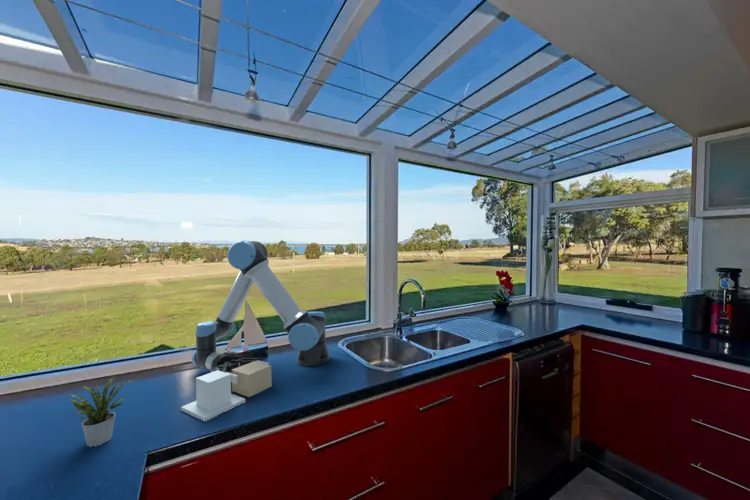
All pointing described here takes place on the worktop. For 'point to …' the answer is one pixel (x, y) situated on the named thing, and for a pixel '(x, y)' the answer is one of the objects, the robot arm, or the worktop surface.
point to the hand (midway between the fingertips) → (253, 372)
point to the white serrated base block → (212, 396)
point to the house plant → (98, 415)
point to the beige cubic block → (252, 378)
